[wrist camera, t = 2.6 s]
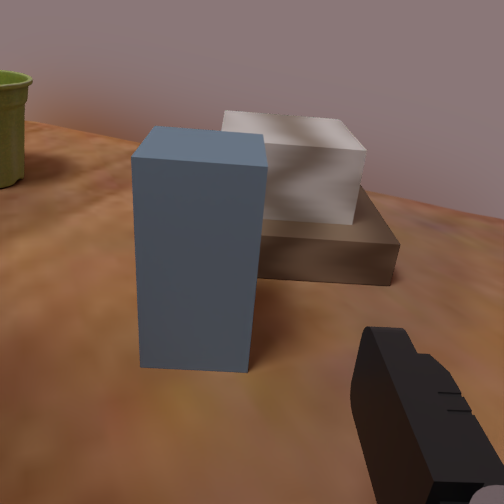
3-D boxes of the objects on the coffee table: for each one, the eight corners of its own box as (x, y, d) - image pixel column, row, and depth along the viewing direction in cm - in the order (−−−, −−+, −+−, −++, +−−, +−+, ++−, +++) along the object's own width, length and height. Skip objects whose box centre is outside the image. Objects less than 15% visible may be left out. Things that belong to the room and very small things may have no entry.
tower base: (172, 272, 29) (172, 147, 25) (193, 193, 41) (195, 101, 38) (389, 285, 30) (420, 165, 26) (346, 204, 42) (363, 115, 38)
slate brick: (140, 367, 21) (131, 156, 17) (158, 306, 26) (154, 125, 21) (247, 372, 22) (267, 166, 17) (246, 310, 26) (262, 134, 21)
